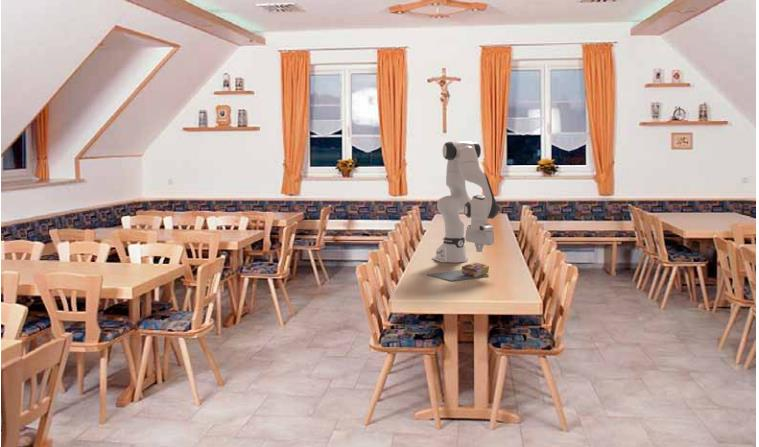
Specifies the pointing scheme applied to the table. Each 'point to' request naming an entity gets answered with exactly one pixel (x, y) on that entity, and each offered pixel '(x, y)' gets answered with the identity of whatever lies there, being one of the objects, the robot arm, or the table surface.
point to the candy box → (475, 269)
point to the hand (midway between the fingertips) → (479, 251)
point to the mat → (454, 276)
